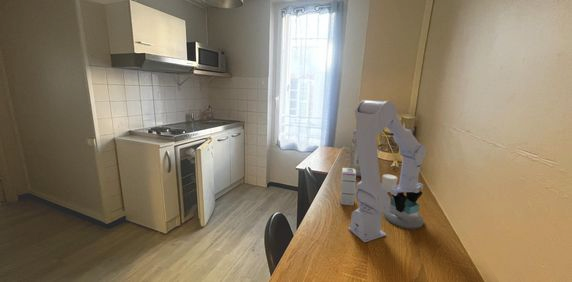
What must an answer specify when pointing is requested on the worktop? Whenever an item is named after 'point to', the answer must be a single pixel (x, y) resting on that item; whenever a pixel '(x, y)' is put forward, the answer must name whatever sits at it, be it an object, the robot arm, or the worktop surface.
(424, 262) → the worktop surface
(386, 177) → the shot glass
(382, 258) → the worktop surface
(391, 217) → the slate stand
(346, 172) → the syrup box
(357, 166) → the juice carton
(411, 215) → the block
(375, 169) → the robot arm
